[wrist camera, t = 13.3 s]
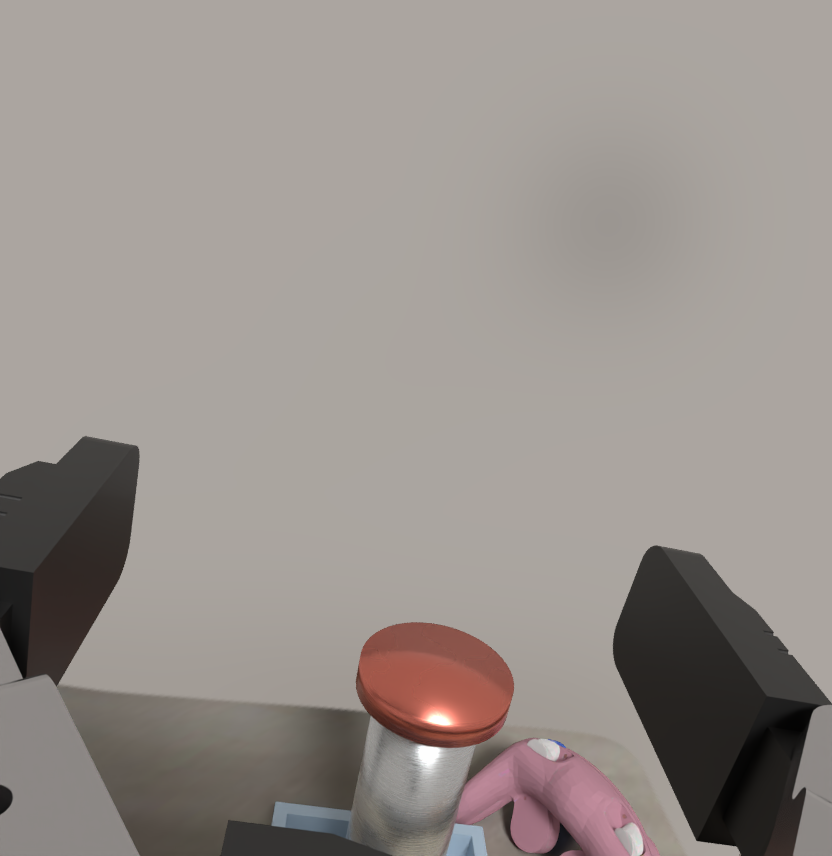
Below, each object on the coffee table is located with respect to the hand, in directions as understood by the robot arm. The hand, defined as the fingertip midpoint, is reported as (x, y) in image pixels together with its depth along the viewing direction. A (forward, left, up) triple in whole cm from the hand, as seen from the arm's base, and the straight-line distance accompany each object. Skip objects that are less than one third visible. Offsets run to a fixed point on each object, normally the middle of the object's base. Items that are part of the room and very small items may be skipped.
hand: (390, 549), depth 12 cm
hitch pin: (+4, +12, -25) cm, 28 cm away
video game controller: (+13, +17, -26) cm, 34 cm away
